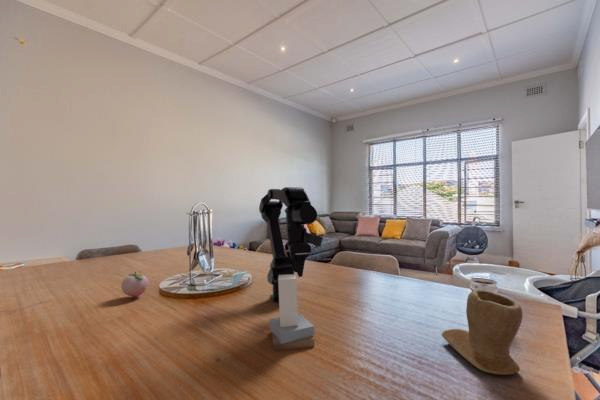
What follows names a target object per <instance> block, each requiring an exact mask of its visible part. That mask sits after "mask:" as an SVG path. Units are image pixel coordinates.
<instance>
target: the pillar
mask: <svg viewBox="0 0 600 400" xmlns="http://www.w3.org/2000/svg"><path fill="white" fill-rule="evenodd" d="M296 274H297V273H294V274H289V275H279V277H278V286H279V301H278V303H279V317H280V327H289V326H298V314H299V311H298V309H299V307H298V289H297V288H298V287H297V275H296Z"/></svg>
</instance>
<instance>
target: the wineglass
mask: <svg viewBox="0 0 600 400" xmlns="http://www.w3.org/2000/svg"><path fill="white" fill-rule="evenodd" d="M497 284H498V282H497V281H496V280H494V279H490V278H483V277H472V278H470V286H469V289H470V292H472V291H473V290H485V291H489V292H493V293H495V294H498V291H499V289H498V287H497Z"/></svg>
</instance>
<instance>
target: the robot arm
mask: <svg viewBox="0 0 600 400" xmlns="http://www.w3.org/2000/svg"><path fill="white" fill-rule="evenodd" d="M271 200H273V201H271ZM275 200H277V201H275ZM284 206H285V207H286V208H285V209H284V213H285V217H286V234H287V235H286V236H287V241H286V243H284V242H283V236H282V231H281V226H280V221H279V219H280V216H281V214H282V208H283V207H284ZM258 211H259V213H260V215H261V219H262V220H263V221H264V222H265V223H266V226H267V231H268V236H269V241H270V248H271V253H272V259H271V262H270V265H269V267H270V268H269V271H268V274H267V279H266V280H267V282H268V283H269V284H270V285H272V294H270V295H269V297H270V299H271V300H272V301H273V302H274V303H277V302H278V303H279V286H278V277H279V275H289V274H295V273H296V274H297V277H298V278H300V277H301V278H302V277H303V275H304V274H303V273H304V269H305V261H306V259H307V258H308V257H309V256H310V255H311V253H312V246H311V245H313V246H316V247H319V248H321V246H322V243H323V240H324V237H323V236H320V235H318V233H316V232H313V231H311V232H310V233H309V232H307V228H306V227H305V225H311V224H313V223H314V222H315V221H316V220H317V218H318V211H317V210H316V208H315V207H314V206H313V205H312V203H311V199H310V198H309V196H308V195H307V192H306V190H305V188H303V187H300V186H299V187H298V186H297V187H291V186H290V187H289V186H288V187H283V188H281V189H280V188H271V189H268V190H267V193H266V195H264V196H263V197H262V198H261V200H260V203H259V207H258Z"/></svg>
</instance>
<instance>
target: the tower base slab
mask: <svg viewBox="0 0 600 400" xmlns="http://www.w3.org/2000/svg"><path fill="white" fill-rule="evenodd" d="M270 333H271V338H272V344H273V350H274V351H280V350H281V351H282V350H283V351H284V350H293V349H300V348H310V347H315V337H314V336H312V337H308V338H304V339H299V340H295V341H291V342H287V343H283V344H281V343H280V342H279V340H278V339H277V338H276V336H275V335H274V334H273V332H272V331H271V330H270Z"/></svg>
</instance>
